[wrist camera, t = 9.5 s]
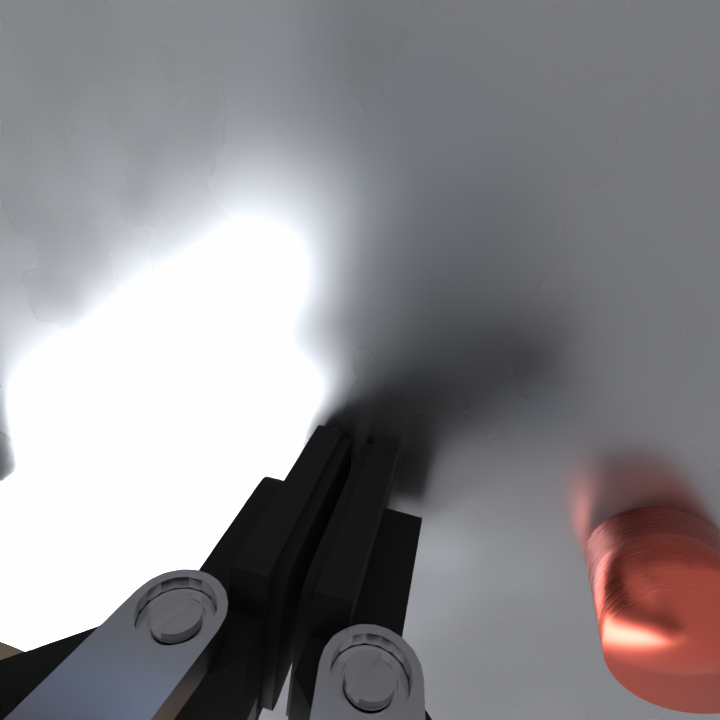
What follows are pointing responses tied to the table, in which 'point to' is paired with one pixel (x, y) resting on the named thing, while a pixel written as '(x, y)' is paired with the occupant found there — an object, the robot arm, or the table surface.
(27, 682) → the robot arm
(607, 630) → the cooker lid
